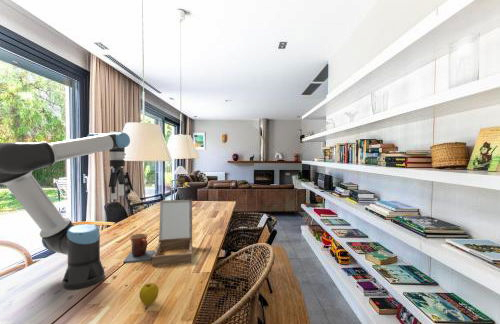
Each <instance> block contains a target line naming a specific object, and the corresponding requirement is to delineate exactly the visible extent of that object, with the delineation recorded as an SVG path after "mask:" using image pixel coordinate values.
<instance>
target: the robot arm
mask: <svg viewBox="0 0 500 324" xmlns="http://www.w3.org/2000/svg"><path fill="white" fill-rule="evenodd" d="M130 138H131V137H130V136H129V134H128V133H126V132H123V131H110V132H108V133H107V132H106V133H96V132H94V133H93V132H90V133H89V134H87V136H86V137H81V138H73V139H68V140H62V141H55V142H50V143H49V142H47V141H38V142H37V141H36V142H0V185H2V186H3V185H4V186H5V187H6V188H7V189H8V191H10V193H11V194H12V196H14V198H15V199H16V200H17V202H18V203H19V204H20V205H21V206H22V208H23V209H24V210H25V212H26V213H27V215H28V216H30V218H31V219H32V220H33V221H34V222H35V224H36V225H37V226H38V228H39V229H40V233H39V236H40V237H41V243H42V246H43V247H44V248H45V249H46V250H48V251H50V252H53V253H56V254H57V253H58V254H63V255H67V267H66V270H65V273H64V275H63V278H62V287H63V288H64V289H66V290H78V289H79V290H80V289H84V288H88V287H91V286H94V285H97V284H98V283H99V282H101V281H102V280H103V279H104V278H105V268H104V266H103V264H102V262H101V257H100V255H101V252H100V251H101V249H100V247H101V244H100V243H101V239H100V237H101V233H100V228H99V227H98V226H97V225H93V224H85V223H84V224H77V225H74V224H73V222H72V221H71V219H70V218H69V217H63V215H62V214H61V213H60V211H59V210H58V208H57V207H56V206H55V204H54V203H53V201H52V200H51V199H50V197H49V196H48V194H47V193H46V192H45V191H44V189H43V187H41V185H40V184H39V182H38V180H37V179H36V178H35V176H34V175H33V172H34V171H36V170H39V169H43V168H47V167H51V166H53V165H55V163H56V162H61V161H64V160H65V161H66V160H70V159H74V158H78V157H83V156H87V155H92V154H97V153H101V152H104V151H109V152H108V153H109V167H111V169H110V177H109V182H108V188H110V200H117V199H118V197H117V195H118V196H120V197H121V196H125V185H126V184H127V183H126V179H125V174H124V173H125V172H124V168H123V167H126V160H125V156H126V153H125V149H126V147H128V146H129V145H130V143H131V139H130ZM117 183H118V190H117ZM117 193H118V194H117Z"/></svg>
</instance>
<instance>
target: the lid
mask: <svg viewBox="0 0 500 324" xmlns="http://www.w3.org/2000/svg"><path fill="white" fill-rule="evenodd" d="M159 204H160V205H159V206H160V207H159V227H158V228H159V229H158V230H159V232H158V233H159V234H158V241H159V240H165V239H179V238H192V239H193V199H176V200H175V199H173V200H172V199H171V200H168V199H167V200H160V203H159Z"/></svg>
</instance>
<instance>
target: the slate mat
mask: <svg viewBox="0 0 500 324" xmlns="http://www.w3.org/2000/svg"><path fill="white" fill-rule="evenodd" d="M154 252H155V250H154V249H151V250H146V253H145V254H144V255H143V256H139V257H135V256H133V255H132V252H131V251H130V252H129V253H128V254H127V256H126V257H125V259H123V264H128V263H129V264H130V263H139V262H141V263H142V262H150V261H151V262H152V256H153V254H154Z"/></svg>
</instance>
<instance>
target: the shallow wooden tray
mask: <svg viewBox="0 0 500 324" xmlns="http://www.w3.org/2000/svg"><path fill="white" fill-rule="evenodd" d="M188 248H189V250H188V252H186V253H176V254H175V253H174V254H173V253H172V254H163V255H160V253H161V251H162V250H163V251H164V250H175V249H188ZM192 257H193V237H192V238H179V239H165V240H159V239H158V243H157V245H156V247H155V252H154V254H153V256H152V258H151V267H156V266H157V267H158V266H167V265H178V264H188V263H192V261H193V258H192Z"/></svg>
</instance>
